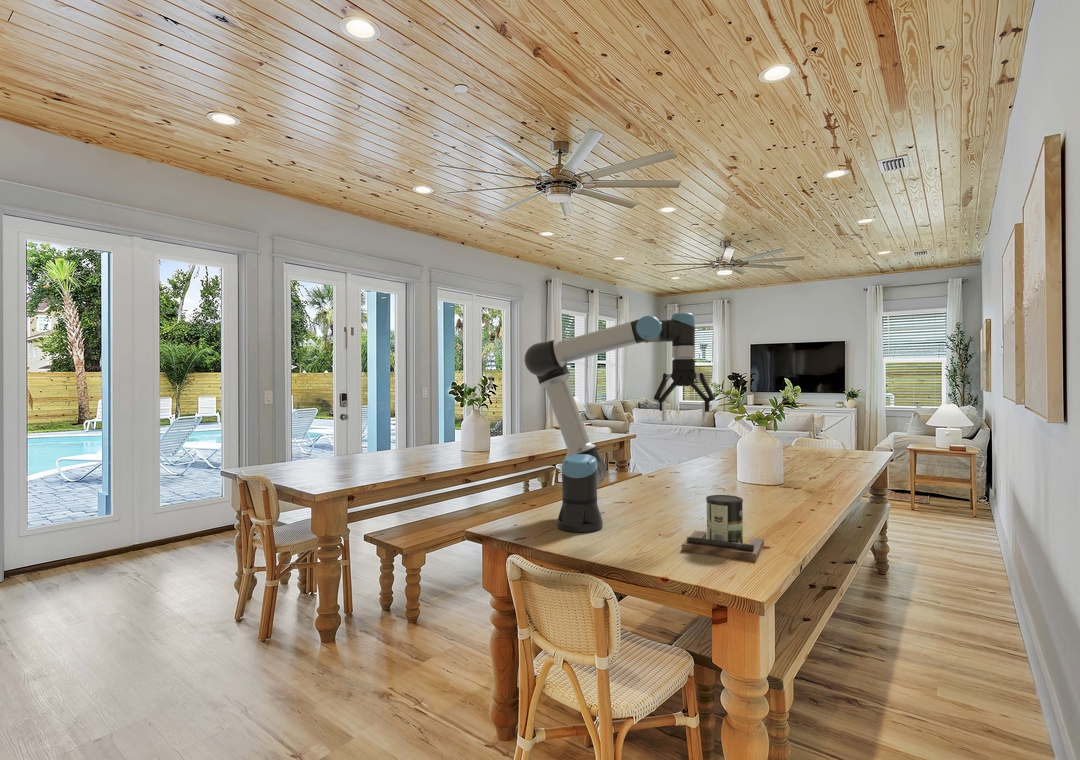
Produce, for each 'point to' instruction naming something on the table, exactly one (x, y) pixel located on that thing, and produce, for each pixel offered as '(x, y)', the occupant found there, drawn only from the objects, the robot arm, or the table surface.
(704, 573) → the table surface
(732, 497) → the coffee can
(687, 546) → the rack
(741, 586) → the table surface
